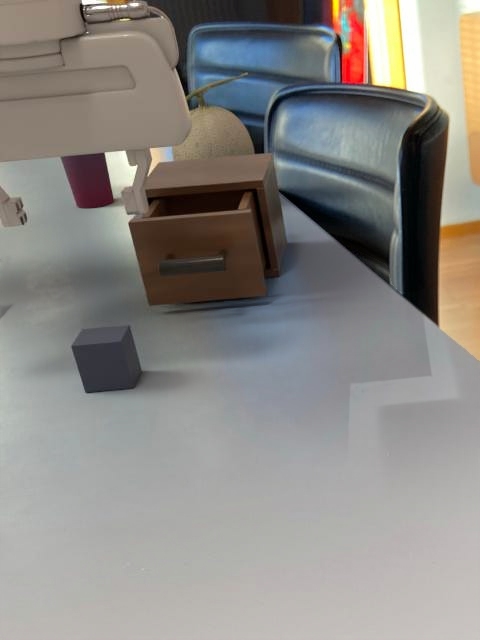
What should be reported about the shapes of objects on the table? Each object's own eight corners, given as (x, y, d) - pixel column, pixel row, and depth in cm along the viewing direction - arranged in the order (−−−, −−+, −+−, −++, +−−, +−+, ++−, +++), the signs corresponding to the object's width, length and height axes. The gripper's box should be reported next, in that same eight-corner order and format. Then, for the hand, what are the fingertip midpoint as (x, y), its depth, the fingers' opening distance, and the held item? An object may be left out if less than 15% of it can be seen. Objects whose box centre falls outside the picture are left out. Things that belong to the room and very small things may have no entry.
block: (85, 392, 84) (70, 345, 82) (95, 374, 88) (81, 329, 85) (133, 388, 84) (120, 341, 82) (142, 370, 88) (129, 324, 85)
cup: (75, 199, 143) (42, 79, 135) (124, 195, 144) (94, 75, 135) (65, 211, 138) (29, 87, 129) (116, 207, 138) (84, 82, 130)
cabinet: (279, 276, 108) (262, 179, 102) (160, 287, 107) (136, 190, 101) (287, 242, 119) (272, 152, 113) (178, 251, 118) (158, 162, 112)
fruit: (162, 207, 136) (133, 82, 128) (231, 189, 143) (208, 68, 134) (209, 217, 131) (181, 86, 122) (278, 197, 137) (257, 71, 128)
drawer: (262, 309, 96) (246, 223, 92) (141, 320, 96) (119, 234, 91) (274, 259, 110) (261, 182, 105) (168, 269, 109) (150, 191, 105)
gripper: (173, -6, 74) (215, 196, 82) (-113, 19, 73) (-42, 221, 81) (160, 0, 69) (206, 215, 77) (-148, 27, 68) (-68, 242, 76)
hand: (77, 218), depth 79 cm, fingers open, 8 cm apart
